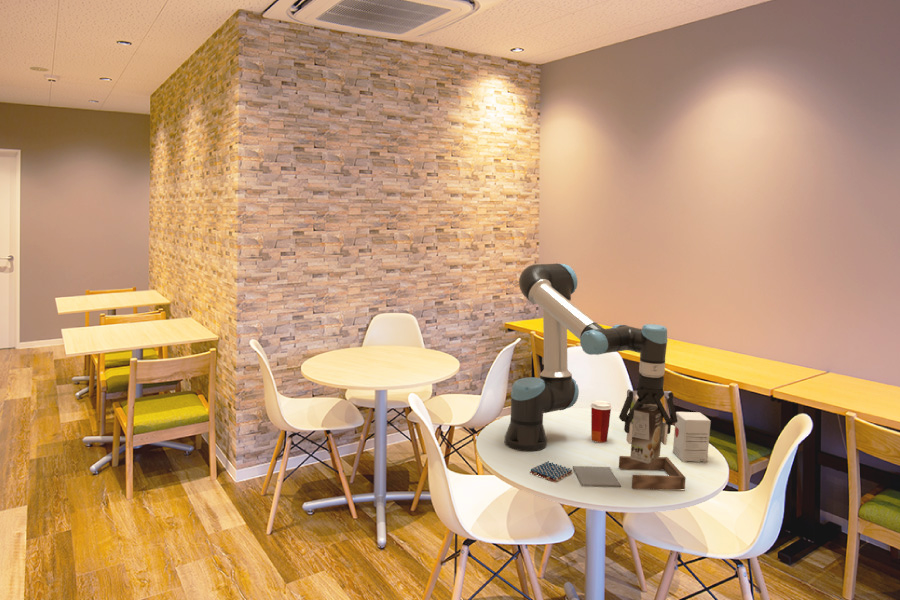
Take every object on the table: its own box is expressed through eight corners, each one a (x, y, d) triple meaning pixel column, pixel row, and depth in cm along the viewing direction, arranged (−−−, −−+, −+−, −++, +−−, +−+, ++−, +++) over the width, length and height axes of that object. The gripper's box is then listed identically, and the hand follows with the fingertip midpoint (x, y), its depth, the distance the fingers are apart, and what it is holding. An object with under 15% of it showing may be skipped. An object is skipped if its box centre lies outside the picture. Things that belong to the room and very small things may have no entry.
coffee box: (649, 464, 193) (653, 414, 191) (629, 459, 197) (633, 409, 195) (660, 456, 200) (664, 407, 198) (641, 450, 204) (644, 403, 202)
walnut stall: (632, 488, 191) (633, 476, 191) (618, 467, 207) (619, 456, 207) (684, 490, 191) (685, 477, 191) (666, 468, 207) (667, 457, 207)
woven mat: (527, 474, 201) (527, 468, 201) (546, 465, 209) (546, 460, 208) (555, 484, 194) (555, 478, 194) (573, 475, 202) (574, 469, 201)
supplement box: (671, 452, 223) (675, 411, 220) (696, 452, 223) (700, 411, 221) (681, 462, 214) (685, 419, 212) (707, 462, 214) (711, 420, 212)
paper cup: (608, 436, 236) (610, 400, 234) (611, 444, 229) (613, 406, 227) (587, 435, 237) (589, 399, 235) (589, 442, 229) (591, 405, 228)
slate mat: (581, 486, 192) (581, 484, 192) (572, 467, 206) (572, 466, 206) (620, 487, 192) (620, 485, 192) (609, 468, 206) (609, 466, 206)
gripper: (618, 376, 191) (613, 446, 194) (692, 378, 191) (686, 448, 194) (611, 370, 198) (607, 437, 201) (683, 372, 199) (678, 439, 202)
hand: (646, 442), depth 198 cm, fingers closed on coffee box, 10 cm apart
